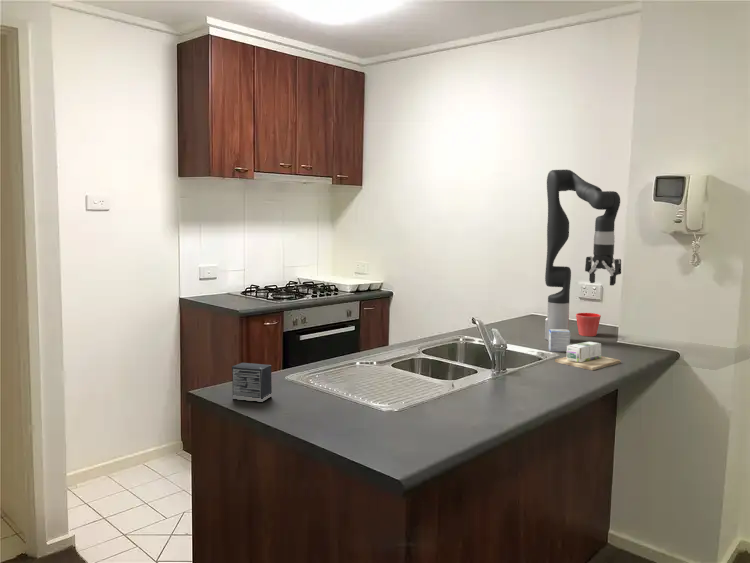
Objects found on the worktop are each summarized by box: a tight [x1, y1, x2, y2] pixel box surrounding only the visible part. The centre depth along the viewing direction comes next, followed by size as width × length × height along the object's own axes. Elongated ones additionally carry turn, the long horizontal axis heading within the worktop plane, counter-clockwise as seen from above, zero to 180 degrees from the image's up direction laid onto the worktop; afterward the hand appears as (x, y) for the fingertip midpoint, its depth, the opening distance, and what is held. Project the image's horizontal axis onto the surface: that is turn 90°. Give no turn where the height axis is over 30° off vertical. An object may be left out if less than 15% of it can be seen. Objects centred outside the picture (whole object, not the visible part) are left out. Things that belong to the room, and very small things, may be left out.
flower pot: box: [575, 312, 601, 337], centre depth 288 cm, size 11×11×10 cm
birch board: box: [554, 355, 622, 371], centre depth 235 cm, size 16×19×1 cm
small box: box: [231, 362, 273, 399], centre depth 188 cm, size 11×6×10 cm, turn 71°
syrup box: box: [566, 341, 602, 362], centre depth 236 cm, size 6×6×14 cm
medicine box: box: [548, 329, 571, 353], centre depth 255 cm, size 8×4×9 cm, turn 84°
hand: (602, 284), depth 243 cm, fingers open, 8 cm apart
